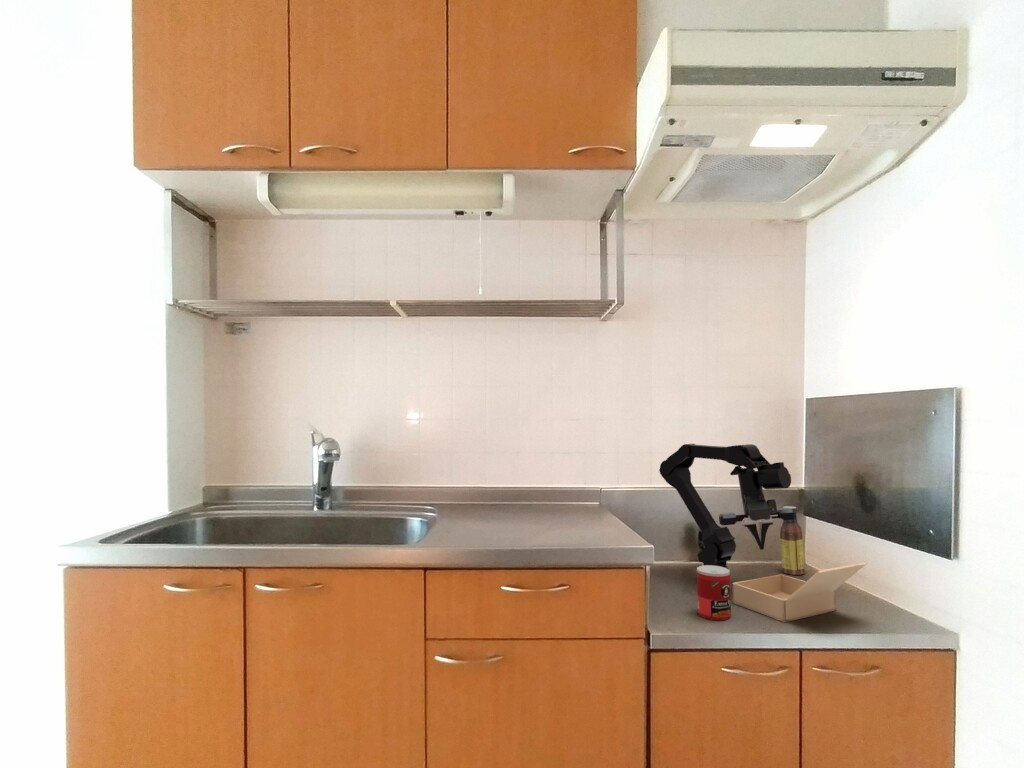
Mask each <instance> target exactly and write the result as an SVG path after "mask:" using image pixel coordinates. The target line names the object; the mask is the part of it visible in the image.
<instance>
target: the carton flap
mask: <svg viewBox="0 0 1024 768" xmlns="http://www.w3.org/2000/svg"><path fill="white" fill-rule="evenodd" d="M865 565H867V563H866V562H865V561H864V562H863V561H862V562H859V563H852V564H848V565H847V564H846V565H842V566H837V567H836V566H835V567H831V568H827V569H826V568H825V569H820V570H817V571H816V572H815V573H814V574H813V575H812V576H811V577H810V578H808V579H807V580H806V582H805V583H804V584H803V585H802V586H801V587H799V588H798V589H797V590H796V591H795V592H794V593H793V594H792V595H791V596H789V597H788V598H787V600H788V601H789V600H794V599H799V598H804V597H808V596H813V595H818V594H823V593H827V592H832V591H835V592H836V590H837V589H839V587H841V586H842V585H843V584H844V583H845V582H847V581H848V580H849V579H851V578H852V577H853V576H854V575H855V574H857V572H859V571H860V570H861V569H862V568H864V566H865Z"/></svg>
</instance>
